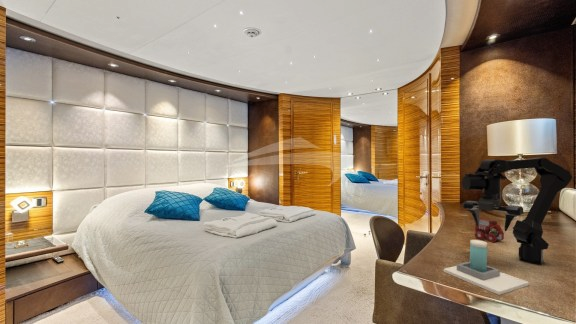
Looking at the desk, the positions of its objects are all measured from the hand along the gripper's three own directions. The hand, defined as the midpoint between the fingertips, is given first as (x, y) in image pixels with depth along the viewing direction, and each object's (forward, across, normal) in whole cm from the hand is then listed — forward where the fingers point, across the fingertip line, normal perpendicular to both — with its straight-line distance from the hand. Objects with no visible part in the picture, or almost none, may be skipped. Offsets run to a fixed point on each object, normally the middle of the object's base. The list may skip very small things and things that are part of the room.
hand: (491, 228), depth 106 cm
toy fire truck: (+13, -10, +32) cm, 36 cm away
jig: (+13, +4, -21) cm, 25 cm away
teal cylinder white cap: (+12, +2, -21) cm, 24 cm away
